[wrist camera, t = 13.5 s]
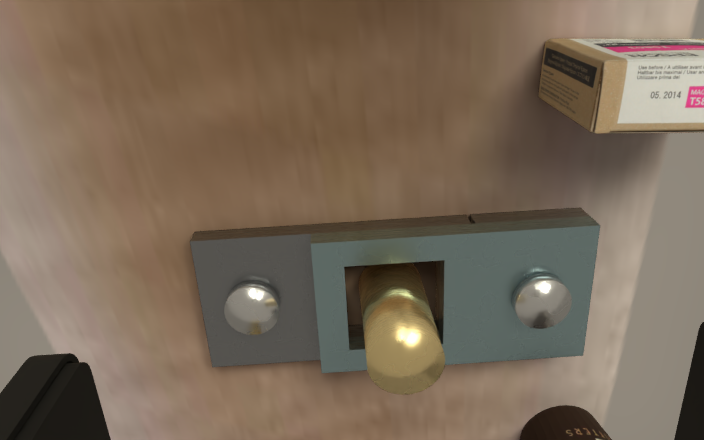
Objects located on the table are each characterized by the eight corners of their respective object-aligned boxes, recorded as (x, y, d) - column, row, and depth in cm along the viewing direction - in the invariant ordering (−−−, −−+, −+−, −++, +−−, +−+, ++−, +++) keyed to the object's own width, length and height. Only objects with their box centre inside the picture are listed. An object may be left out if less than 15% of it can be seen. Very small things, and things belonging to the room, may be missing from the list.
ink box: (708, 36, 35) (817, 54, 27) (693, 100, 36) (793, 133, 29) (542, 36, 34) (605, 55, 27) (534, 101, 36) (591, 135, 28)
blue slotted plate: (311, 224, 38) (310, 250, 35) (580, 207, 39) (607, 232, 35) (322, 347, 42) (321, 382, 39) (566, 330, 43) (589, 364, 39)
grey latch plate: (194, 231, 38) (186, 248, 36) (466, 214, 39) (474, 230, 36) (216, 354, 42) (209, 376, 40) (462, 337, 43) (470, 358, 40)
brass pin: (357, 258, 40) (365, 332, 31) (420, 254, 40) (445, 327, 31) (360, 312, 41) (368, 397, 33) (421, 308, 41) (444, 391, 33)
